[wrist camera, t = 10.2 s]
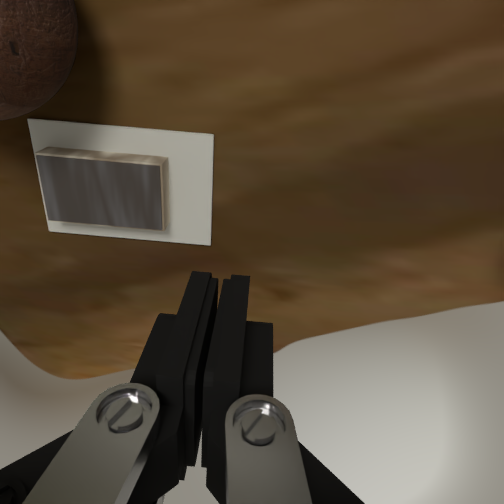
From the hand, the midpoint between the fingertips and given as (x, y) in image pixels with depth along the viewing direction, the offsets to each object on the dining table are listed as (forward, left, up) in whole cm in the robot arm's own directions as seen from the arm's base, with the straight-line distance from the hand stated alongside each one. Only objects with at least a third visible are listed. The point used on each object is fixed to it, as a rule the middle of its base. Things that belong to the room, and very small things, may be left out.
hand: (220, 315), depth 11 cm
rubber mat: (+13, +7, -29) cm, 33 cm away
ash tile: (+8, +7, -28) cm, 30 cm away
